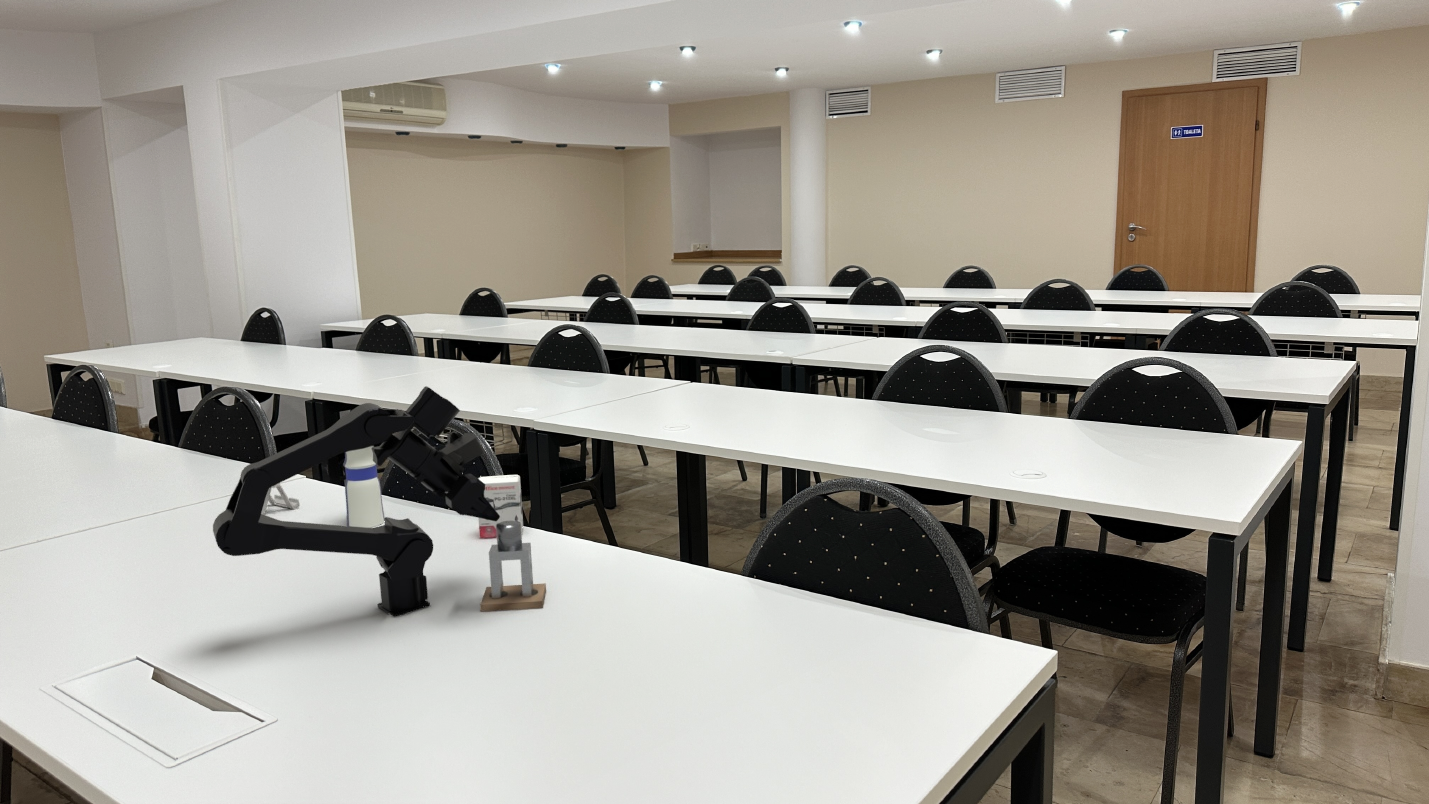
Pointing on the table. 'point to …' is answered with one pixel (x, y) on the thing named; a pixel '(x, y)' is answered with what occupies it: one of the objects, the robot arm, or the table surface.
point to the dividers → (510, 557)
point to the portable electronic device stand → (280, 499)
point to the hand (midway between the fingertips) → (489, 512)
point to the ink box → (501, 502)
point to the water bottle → (362, 489)
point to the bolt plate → (513, 598)
